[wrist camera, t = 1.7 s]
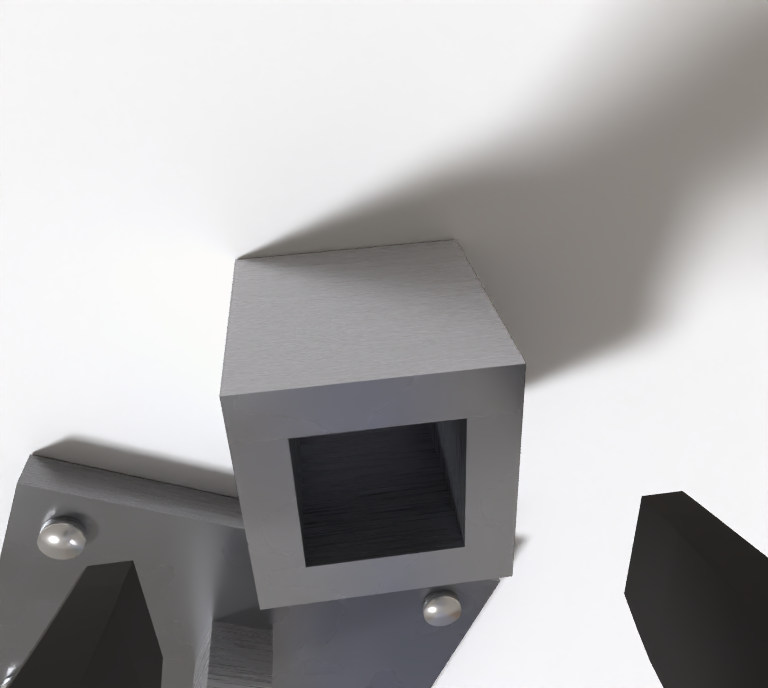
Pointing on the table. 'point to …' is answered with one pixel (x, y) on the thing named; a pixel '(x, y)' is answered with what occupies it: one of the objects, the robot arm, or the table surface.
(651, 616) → the robot arm
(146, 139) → the table surface
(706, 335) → the table surface
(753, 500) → the table surface
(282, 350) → the tube
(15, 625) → the plate
